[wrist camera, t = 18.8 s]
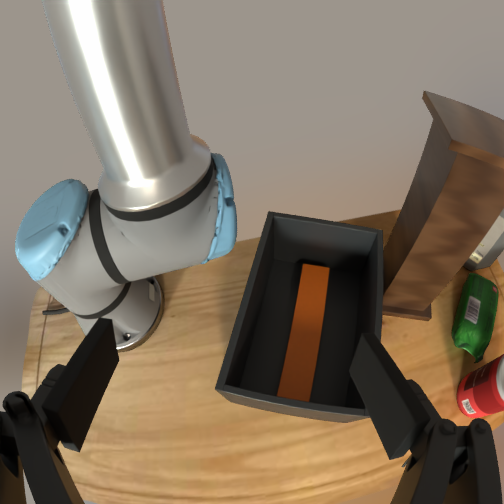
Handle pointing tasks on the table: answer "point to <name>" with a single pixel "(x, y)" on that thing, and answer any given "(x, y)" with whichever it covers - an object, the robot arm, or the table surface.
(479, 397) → the canned food
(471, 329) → the snack package
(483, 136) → the wooden pedestal column
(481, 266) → the liquor
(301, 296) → the orange bar
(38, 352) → the table surface
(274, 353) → the dark grey open box
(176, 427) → the table surface
